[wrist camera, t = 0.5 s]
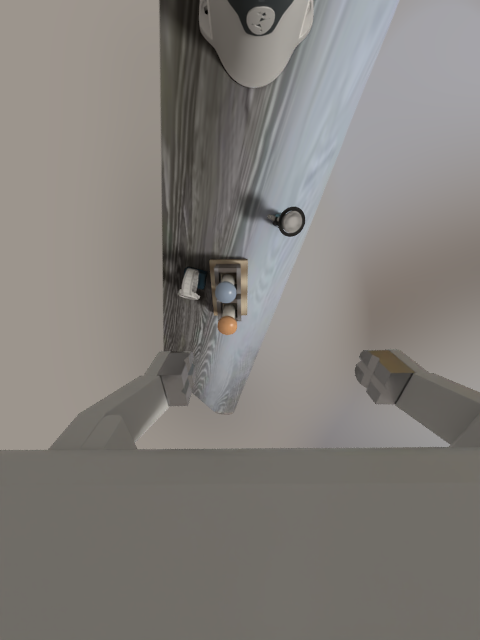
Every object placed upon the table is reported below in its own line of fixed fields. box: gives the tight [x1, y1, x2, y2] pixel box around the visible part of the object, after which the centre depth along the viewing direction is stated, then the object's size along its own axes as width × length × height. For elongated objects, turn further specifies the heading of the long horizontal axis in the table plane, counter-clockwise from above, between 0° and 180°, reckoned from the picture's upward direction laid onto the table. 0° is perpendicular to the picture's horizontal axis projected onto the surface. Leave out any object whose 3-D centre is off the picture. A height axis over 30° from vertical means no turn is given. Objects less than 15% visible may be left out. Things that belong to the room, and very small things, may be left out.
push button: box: [267, 207, 305, 237], centre depth 40 cm, size 7×5×10 cm
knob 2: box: [218, 304, 237, 335], centre depth 45 cm, size 4×4×9 cm
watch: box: [178, 267, 207, 300], centre depth 47 cm, size 6×8×11 cm
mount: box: [209, 259, 248, 321], centre depth 50 cm, size 16×10×7 cm, turn 0°
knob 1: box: [215, 274, 236, 303], centre depth 41 cm, size 4×4×9 cm
